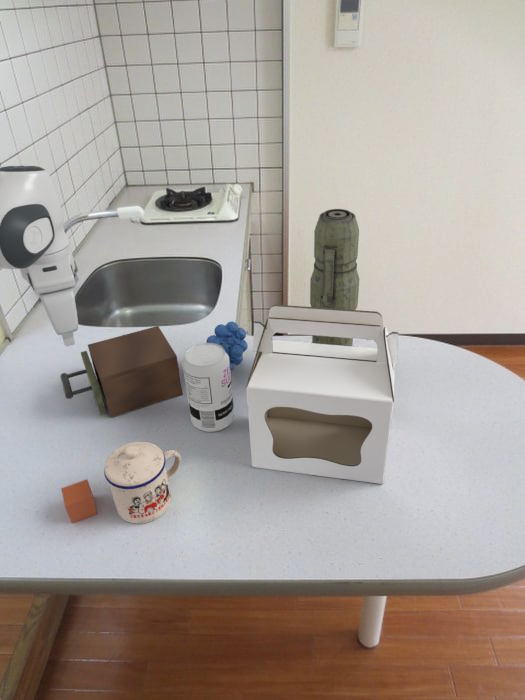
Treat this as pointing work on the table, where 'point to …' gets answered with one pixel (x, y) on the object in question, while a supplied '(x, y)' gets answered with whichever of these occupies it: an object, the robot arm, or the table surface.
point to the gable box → (322, 394)
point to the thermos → (335, 267)
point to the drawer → (93, 386)
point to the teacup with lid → (140, 480)
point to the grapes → (230, 341)
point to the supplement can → (208, 387)
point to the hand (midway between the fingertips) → (65, 331)
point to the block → (79, 501)
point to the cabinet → (136, 370)
